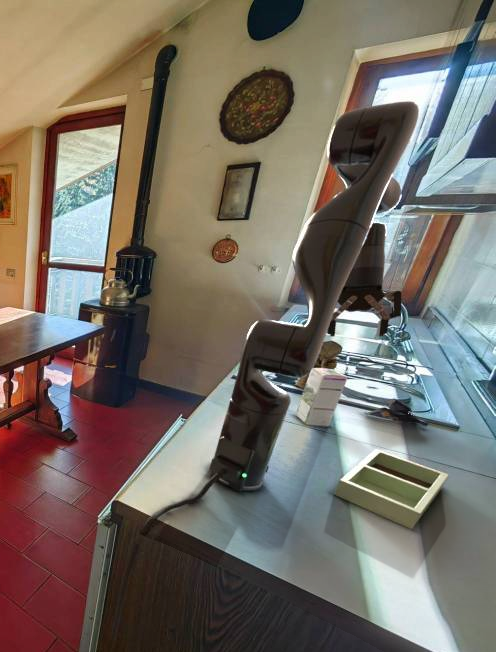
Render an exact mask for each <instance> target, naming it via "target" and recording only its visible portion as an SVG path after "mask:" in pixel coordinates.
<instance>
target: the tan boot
mask: <svg viewBox="0 0 496 652" xmlns="http://www.w3.org/2000/svg"><path fill="white" fill-rule="evenodd" d="M342 351H343V346H342V345H341V344H340V343H338V342H336V341H335V340H327V341H324V342H323V345H322V348H321V350H320V353H319V356H318V358H317V360H316V363H315V365H314V366H313V368H327V369H334V370H335V369H336V368H337V367H338V366H337V365H338V361H337V359H338V358H337V356H339V355H341V353H342ZM310 372H311V371H310ZM310 372H309V374H308V375H306V376H305V377H303V378H297V381H296V383H295V385H296V386H297V387H299V388H300V389H303V390H304V389H305V386H306V383H307V380H308V377H309V375H310Z"/></svg>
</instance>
